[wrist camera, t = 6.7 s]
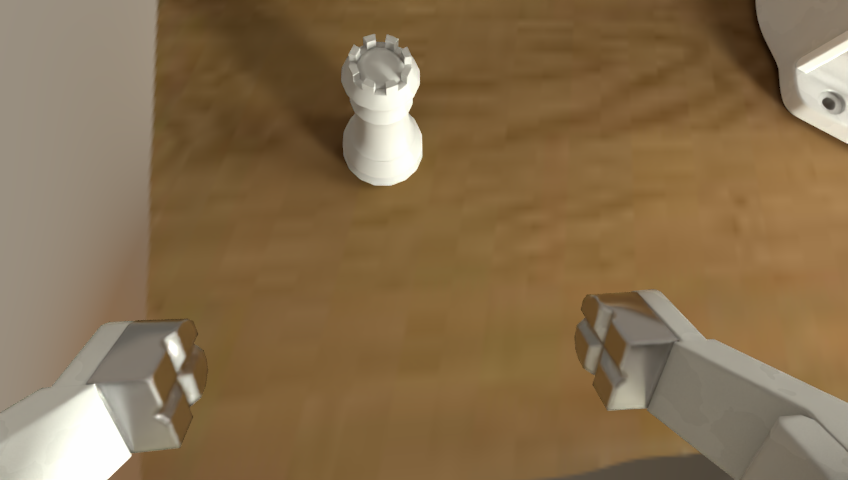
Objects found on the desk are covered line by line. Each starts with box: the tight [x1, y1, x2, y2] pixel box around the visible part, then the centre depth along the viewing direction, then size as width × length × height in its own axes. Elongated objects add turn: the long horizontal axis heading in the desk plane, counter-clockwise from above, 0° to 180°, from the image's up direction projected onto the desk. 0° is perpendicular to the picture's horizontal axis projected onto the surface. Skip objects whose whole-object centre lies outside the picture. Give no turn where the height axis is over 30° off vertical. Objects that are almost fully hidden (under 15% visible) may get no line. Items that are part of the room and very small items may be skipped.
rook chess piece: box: [341, 34, 422, 186], centre depth 21 cm, size 4×4×8 cm
